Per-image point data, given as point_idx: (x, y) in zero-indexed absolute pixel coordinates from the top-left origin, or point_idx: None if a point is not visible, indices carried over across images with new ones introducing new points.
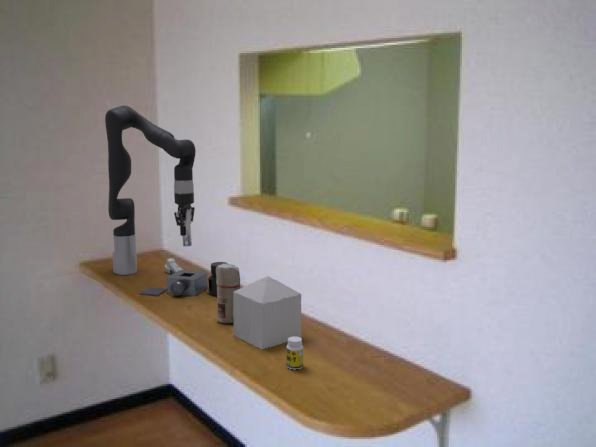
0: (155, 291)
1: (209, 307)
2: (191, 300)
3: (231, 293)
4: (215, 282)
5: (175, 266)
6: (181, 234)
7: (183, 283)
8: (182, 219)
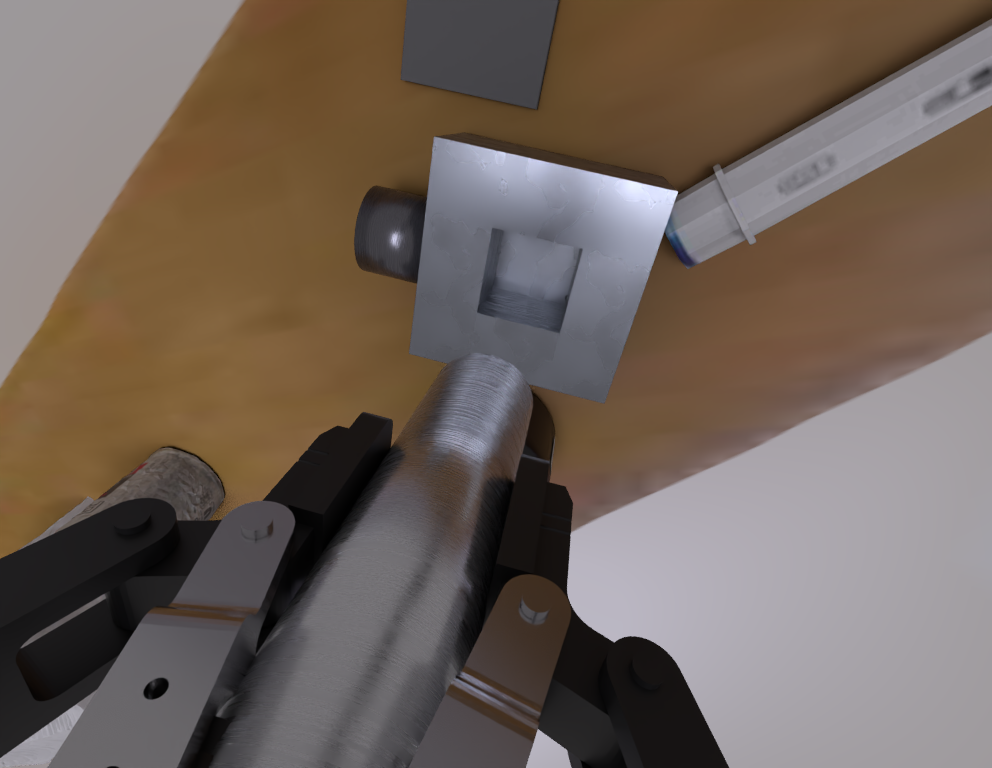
0: (464, 34)
1: (295, 404)
2: (367, 310)
3: None
4: None
5: (987, 53)
6: (336, 437)
7: (402, 277)
8: (35, 719)
